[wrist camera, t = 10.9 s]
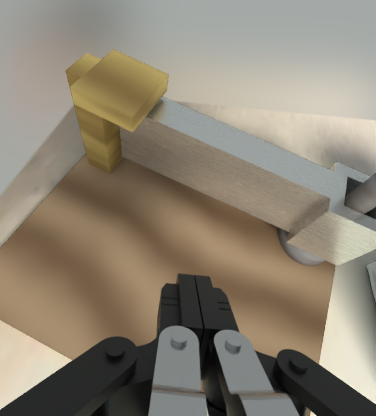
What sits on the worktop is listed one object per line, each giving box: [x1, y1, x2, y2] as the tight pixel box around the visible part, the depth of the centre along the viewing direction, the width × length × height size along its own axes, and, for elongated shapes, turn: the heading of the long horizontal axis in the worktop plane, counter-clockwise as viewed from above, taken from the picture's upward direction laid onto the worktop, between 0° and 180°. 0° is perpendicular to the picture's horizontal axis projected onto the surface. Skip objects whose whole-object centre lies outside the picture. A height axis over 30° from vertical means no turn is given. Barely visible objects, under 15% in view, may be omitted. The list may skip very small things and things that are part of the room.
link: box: [120, 96, 376, 266], centre depth 22 cm, size 21×5×6 cm, turn 66°
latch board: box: [0, 50, 376, 416], centre depth 20 cm, size 21×26×12 cm
